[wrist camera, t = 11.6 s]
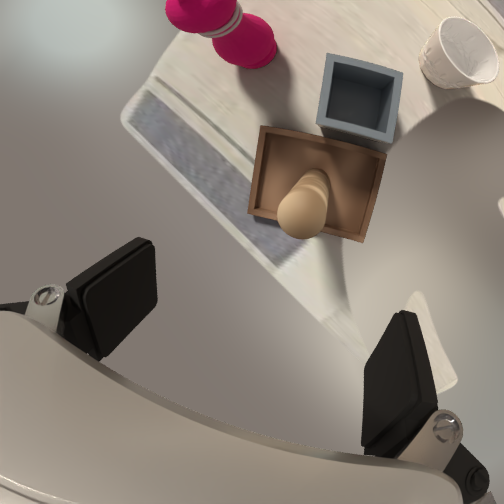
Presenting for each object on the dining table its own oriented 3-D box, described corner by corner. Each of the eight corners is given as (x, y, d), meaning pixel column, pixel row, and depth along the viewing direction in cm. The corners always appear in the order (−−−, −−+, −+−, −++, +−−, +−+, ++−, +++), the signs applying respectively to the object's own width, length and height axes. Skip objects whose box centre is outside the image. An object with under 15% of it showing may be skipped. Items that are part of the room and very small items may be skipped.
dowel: (332, 171, 32) (330, 198, 18) (326, 198, 34) (319, 244, 20) (305, 165, 33) (281, 187, 19) (300, 191, 35) (273, 232, 21)
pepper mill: (242, 22, 27) (163, -46, 9) (289, 37, 27) (240, -44, 9) (220, 62, 30) (122, 21, 13) (266, 79, 30) (192, 30, 13)
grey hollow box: (386, 87, 26) (403, 72, 18) (377, 141, 29) (392, 143, 22) (328, 73, 27) (326, 52, 20) (320, 126, 31) (315, 123, 23)
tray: (384, 153, 30) (387, 154, 28) (362, 238, 35) (363, 243, 34) (264, 125, 33) (260, 125, 31) (251, 209, 38) (247, 213, 37)
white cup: (412, 81, 24) (438, 64, 16) (414, 33, 21) (436, 5, 12) (463, 102, 23) (499, 95, 14) (464, 54, 19) (497, 36, 11)
